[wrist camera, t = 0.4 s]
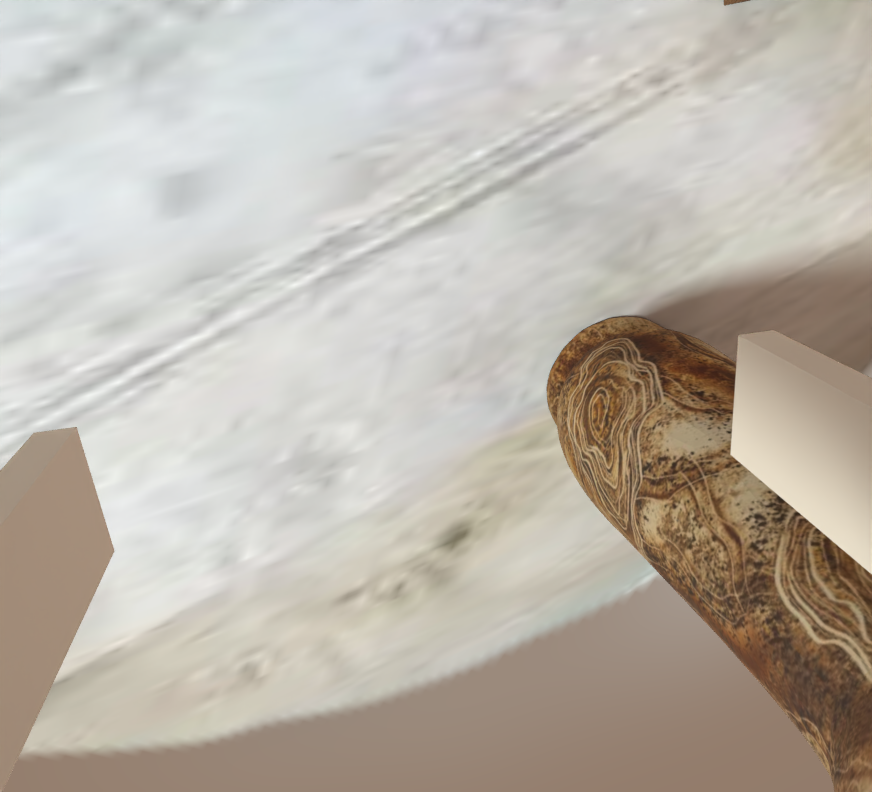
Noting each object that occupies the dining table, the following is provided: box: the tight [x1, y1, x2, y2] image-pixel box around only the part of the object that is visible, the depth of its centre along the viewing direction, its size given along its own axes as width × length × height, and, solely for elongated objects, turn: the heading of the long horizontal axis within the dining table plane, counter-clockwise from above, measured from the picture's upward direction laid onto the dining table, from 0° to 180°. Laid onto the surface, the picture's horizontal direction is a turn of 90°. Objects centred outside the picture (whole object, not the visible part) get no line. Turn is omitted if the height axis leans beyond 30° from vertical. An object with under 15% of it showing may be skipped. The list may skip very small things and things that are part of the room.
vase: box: [547, 317, 872, 792], centre depth 32 cm, size 10×11×30 cm
